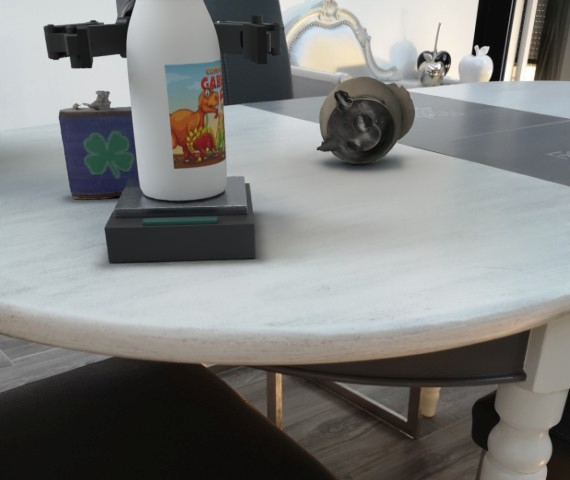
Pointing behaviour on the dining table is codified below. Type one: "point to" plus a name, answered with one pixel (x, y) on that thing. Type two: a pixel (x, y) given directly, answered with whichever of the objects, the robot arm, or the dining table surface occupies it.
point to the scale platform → (182, 202)
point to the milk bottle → (176, 100)
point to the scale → (181, 237)
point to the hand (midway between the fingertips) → (175, 47)
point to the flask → (98, 148)
